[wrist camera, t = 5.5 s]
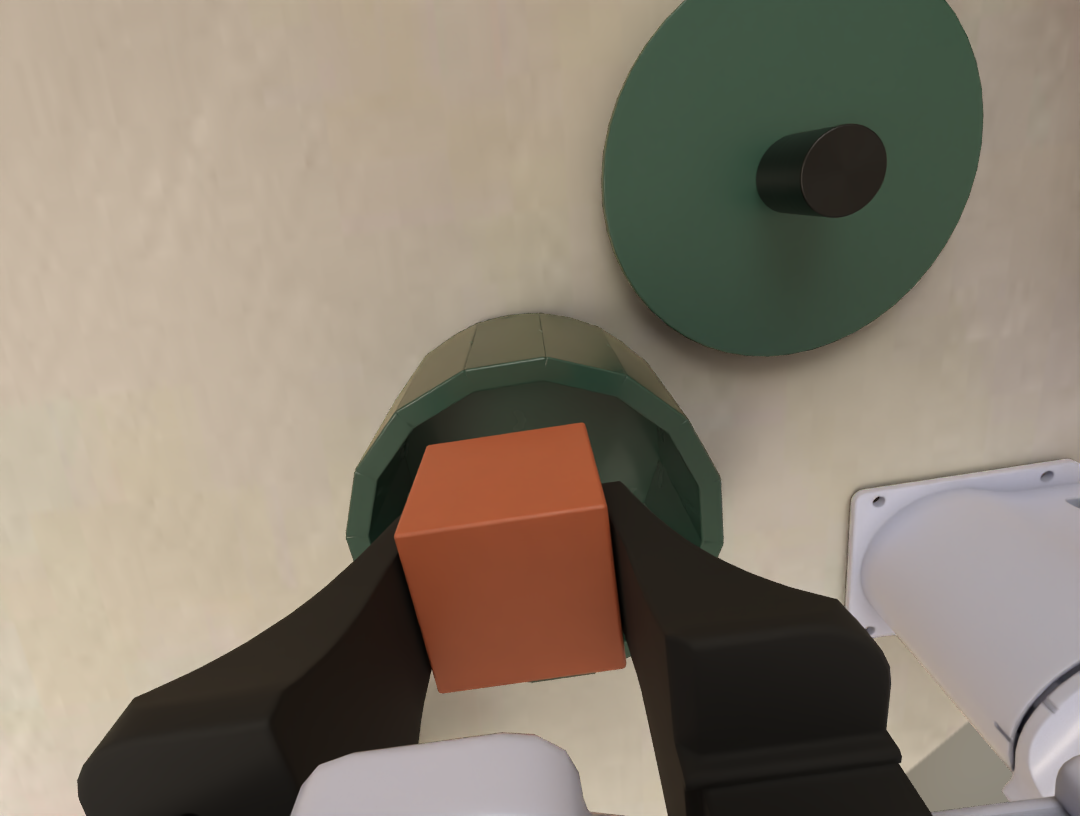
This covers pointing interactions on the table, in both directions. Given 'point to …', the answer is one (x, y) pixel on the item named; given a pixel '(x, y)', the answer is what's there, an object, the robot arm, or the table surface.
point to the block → (512, 560)
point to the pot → (542, 421)
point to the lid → (790, 165)
